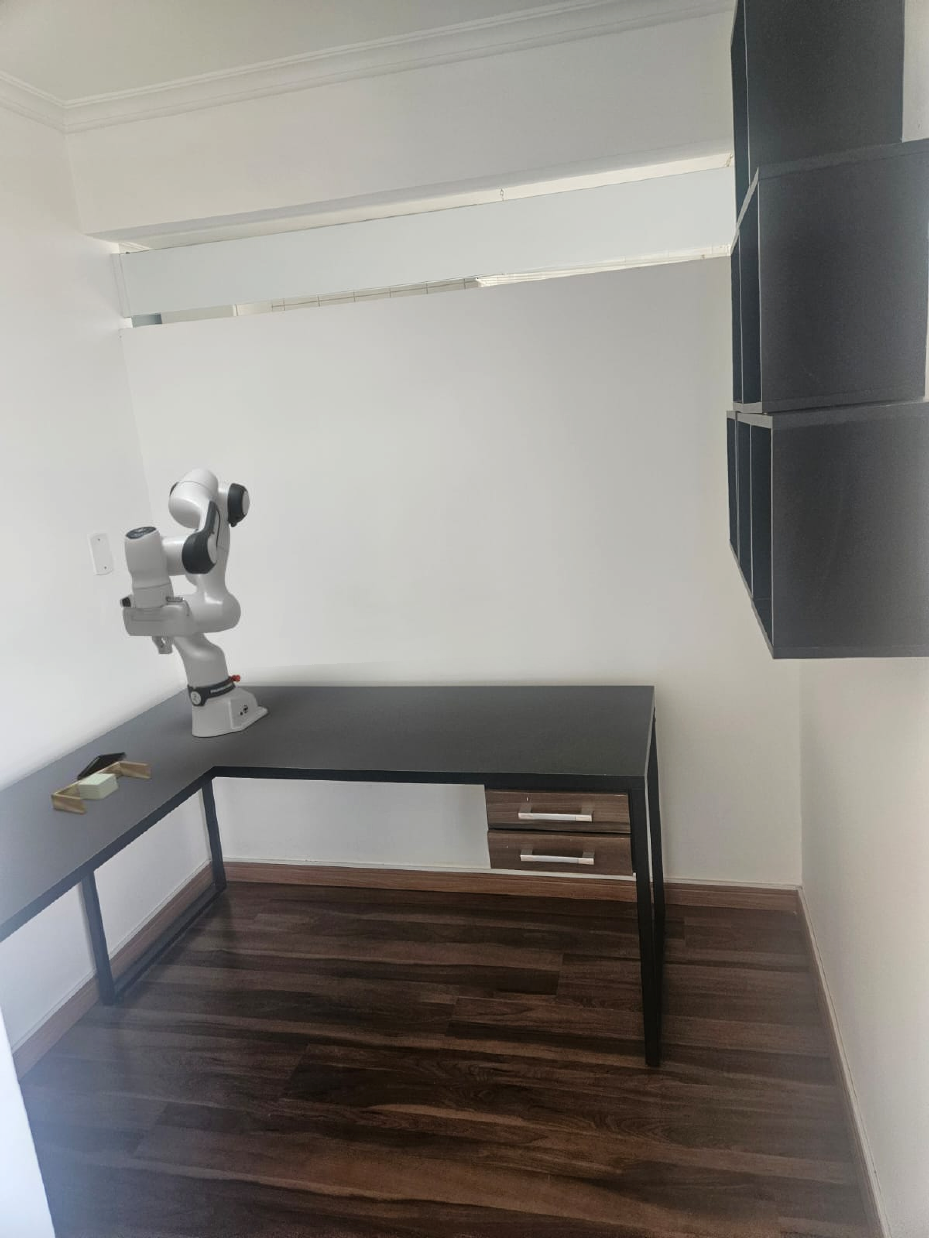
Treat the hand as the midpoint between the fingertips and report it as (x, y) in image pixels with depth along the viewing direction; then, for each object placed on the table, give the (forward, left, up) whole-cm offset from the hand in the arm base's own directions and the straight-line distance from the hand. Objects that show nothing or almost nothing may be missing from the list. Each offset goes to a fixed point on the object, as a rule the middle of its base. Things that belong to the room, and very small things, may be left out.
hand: (166, 653), depth 206 cm
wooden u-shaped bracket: (+14, -15, -31) cm, 37 cm away
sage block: (+15, -16, -31) cm, 38 cm away
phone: (+2, -30, -32) cm, 44 cm away
